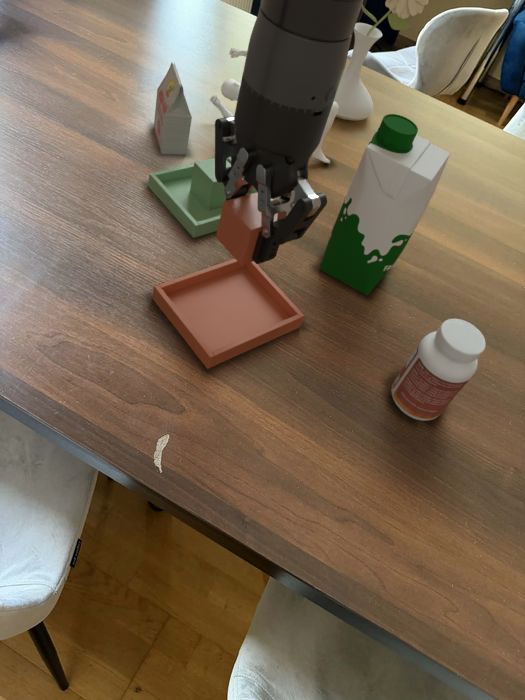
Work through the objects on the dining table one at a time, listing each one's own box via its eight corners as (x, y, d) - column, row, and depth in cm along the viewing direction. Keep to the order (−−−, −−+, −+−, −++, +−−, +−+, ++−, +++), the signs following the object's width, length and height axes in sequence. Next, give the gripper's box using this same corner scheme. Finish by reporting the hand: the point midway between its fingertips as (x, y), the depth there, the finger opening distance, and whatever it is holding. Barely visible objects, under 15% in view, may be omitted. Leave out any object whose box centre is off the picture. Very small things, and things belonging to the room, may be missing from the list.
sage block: (208, 210, 76) (213, 182, 73) (189, 190, 78) (194, 162, 74) (235, 203, 78) (242, 175, 75) (216, 184, 80) (222, 155, 77)
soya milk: (336, 237, 80) (394, 100, 65) (394, 268, 78) (467, 136, 63) (310, 269, 74) (366, 128, 59) (371, 304, 73) (445, 168, 58)
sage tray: (193, 238, 73) (195, 225, 71) (147, 186, 77) (149, 173, 76) (273, 213, 80) (276, 202, 78) (227, 167, 84) (229, 155, 83)
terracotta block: (241, 266, 56) (250, 230, 53) (215, 237, 58) (223, 201, 55) (276, 253, 59) (287, 218, 55) (250, 226, 60) (260, 191, 57)
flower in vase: (305, 114, 99) (356, -51, 81) (313, 85, 107) (361, -72, 88) (377, 137, 100) (443, -21, 81) (379, 107, 108) (441, -44, 89)
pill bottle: (447, 425, 63) (501, 364, 55) (395, 420, 62) (442, 357, 53) (434, 379, 67) (483, 316, 59) (385, 373, 66) (428, 308, 57)
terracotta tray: (207, 369, 60) (210, 357, 59) (152, 298, 65) (153, 285, 63) (300, 327, 67) (305, 315, 66) (244, 265, 72) (248, 253, 70)
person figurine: (339, 65, 89) (235, 33, 80) (362, 126, 84) (255, 100, 76) (297, 127, 99) (201, 105, 91) (316, 185, 95) (217, 168, 86)
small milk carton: (178, 128, 88) (186, 63, 80) (186, 154, 84) (196, 88, 76) (153, 126, 86) (160, 60, 79) (161, 153, 82) (168, 86, 75)
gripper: (201, 38, 46) (177, 209, 59) (312, 137, 40) (259, 302, 53) (272, 32, 50) (235, 194, 63) (383, 121, 44) (318, 279, 57)
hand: (246, 243), depth 58 cm, fingers closed on terracotta block, 4 cm apart
